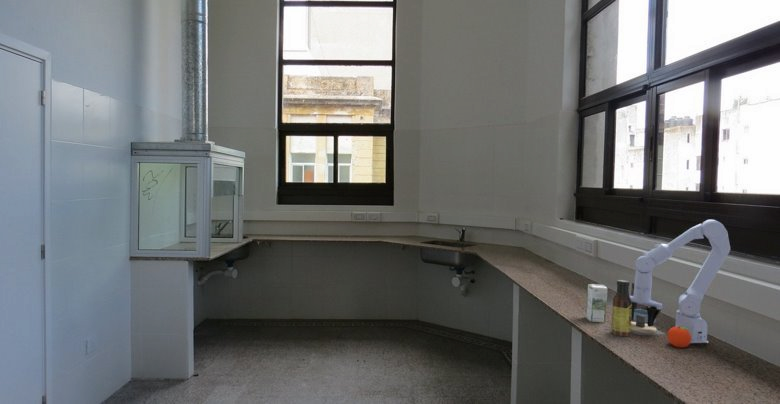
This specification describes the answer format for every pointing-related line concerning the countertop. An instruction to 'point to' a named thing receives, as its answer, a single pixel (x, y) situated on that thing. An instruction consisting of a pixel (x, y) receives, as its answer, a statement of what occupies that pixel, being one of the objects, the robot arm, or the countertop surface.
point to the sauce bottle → (622, 310)
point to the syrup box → (596, 303)
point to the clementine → (679, 336)
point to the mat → (647, 334)
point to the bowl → (641, 312)
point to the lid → (642, 326)
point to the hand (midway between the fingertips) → (640, 323)
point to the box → (638, 306)
